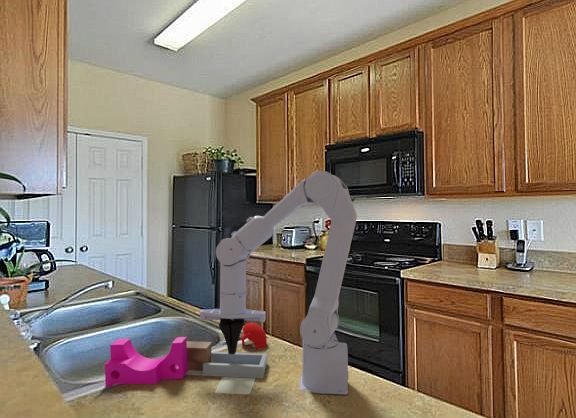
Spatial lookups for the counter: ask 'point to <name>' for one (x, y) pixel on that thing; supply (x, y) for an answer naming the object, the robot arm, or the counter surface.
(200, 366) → the walnut block
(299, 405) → the counter surface
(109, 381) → the magenta cradle bracket
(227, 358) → the trough deck
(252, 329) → the red rounded piece
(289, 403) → the counter surface
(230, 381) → the sage coaster
